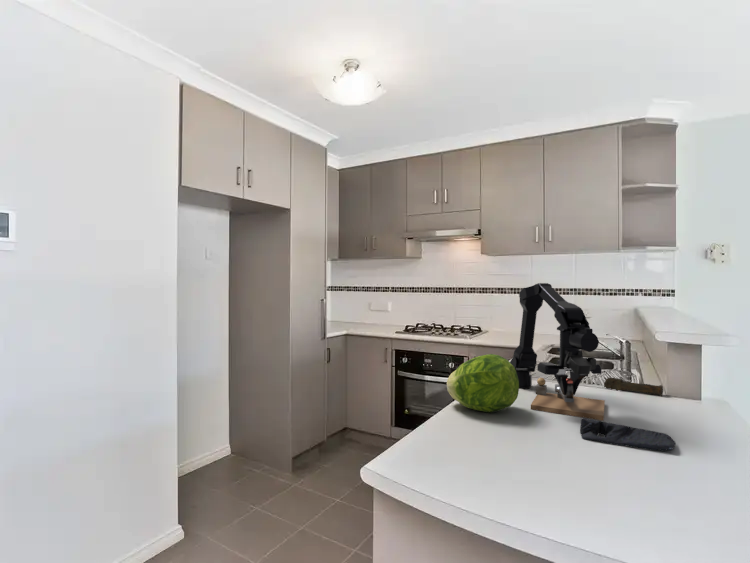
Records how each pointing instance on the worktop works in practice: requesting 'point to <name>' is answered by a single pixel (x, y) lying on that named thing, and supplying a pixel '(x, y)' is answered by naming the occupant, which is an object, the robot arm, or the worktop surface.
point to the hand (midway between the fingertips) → (568, 394)
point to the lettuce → (484, 383)
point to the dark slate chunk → (625, 435)
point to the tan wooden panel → (566, 404)
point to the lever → (569, 390)
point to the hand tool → (633, 386)
